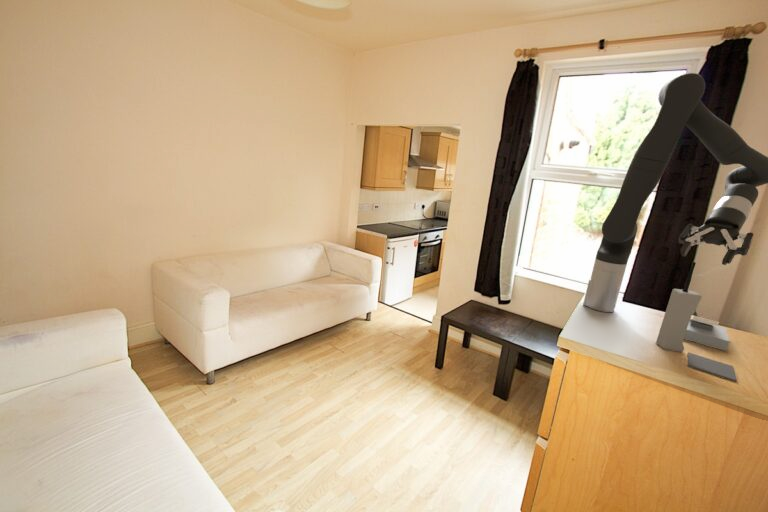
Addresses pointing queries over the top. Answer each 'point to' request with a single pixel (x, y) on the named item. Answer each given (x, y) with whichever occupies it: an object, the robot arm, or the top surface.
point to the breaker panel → (707, 334)
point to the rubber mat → (711, 366)
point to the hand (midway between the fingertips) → (703, 258)
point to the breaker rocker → (704, 320)
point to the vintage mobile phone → (678, 316)
